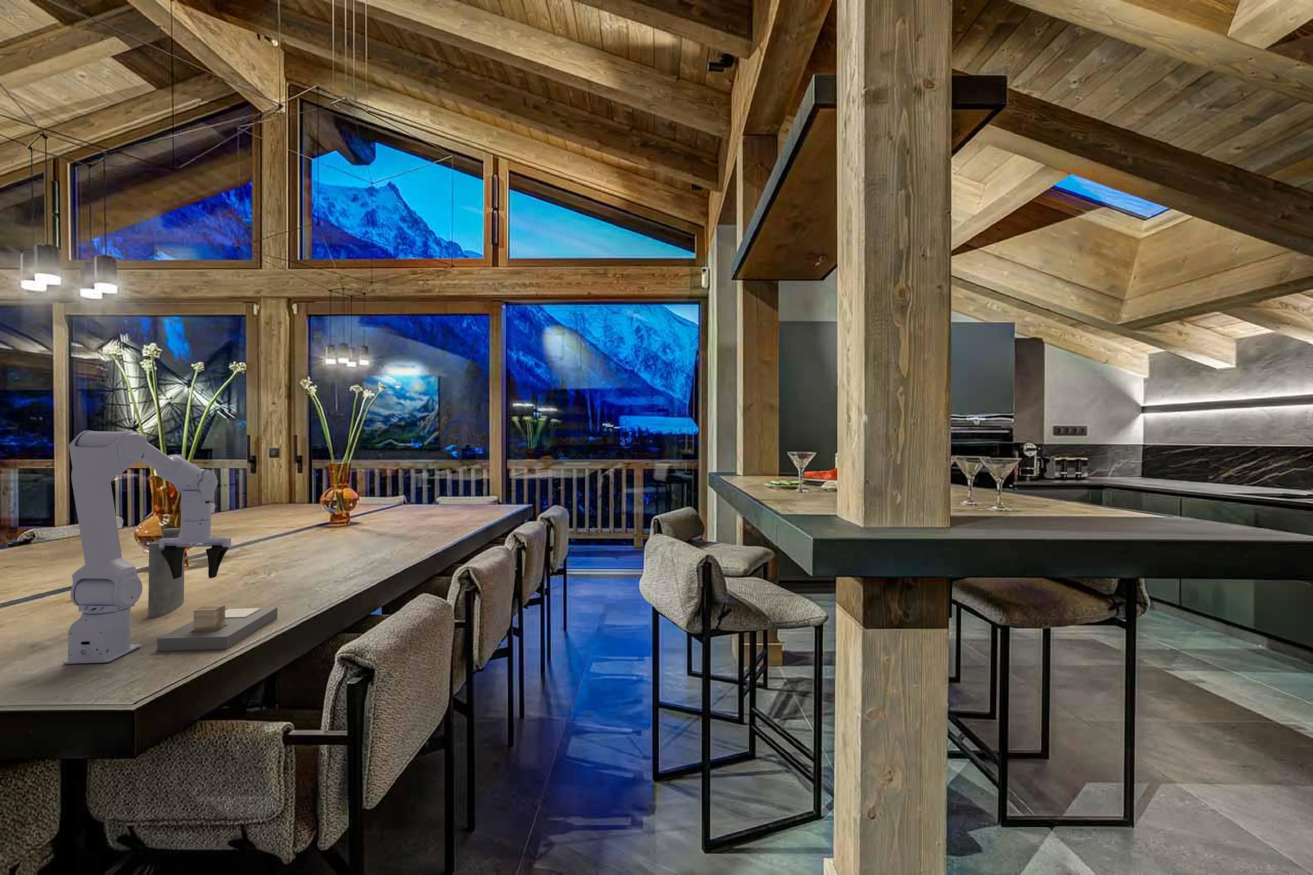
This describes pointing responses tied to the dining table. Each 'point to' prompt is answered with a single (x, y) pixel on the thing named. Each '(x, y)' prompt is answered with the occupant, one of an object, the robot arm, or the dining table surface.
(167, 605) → the hip flask
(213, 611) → the peg
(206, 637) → the pocket plate
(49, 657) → the dining table surface
